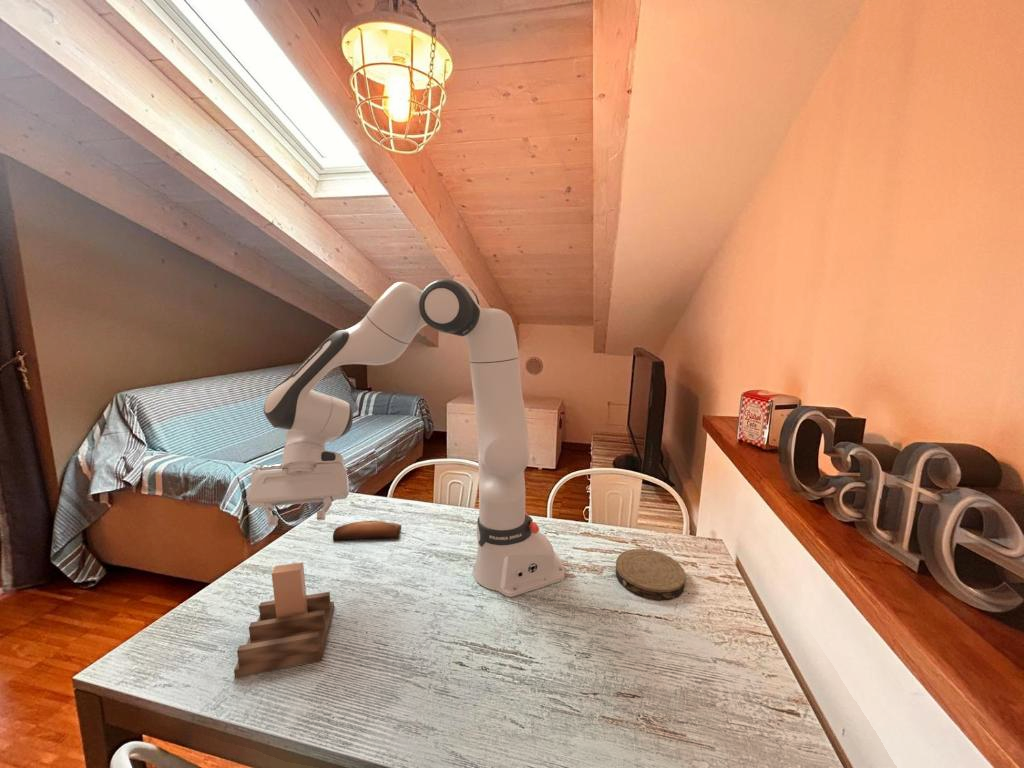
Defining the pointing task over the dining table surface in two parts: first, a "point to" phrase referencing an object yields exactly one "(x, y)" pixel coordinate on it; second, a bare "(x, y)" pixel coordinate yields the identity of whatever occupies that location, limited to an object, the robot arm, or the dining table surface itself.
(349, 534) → the sunglasses case
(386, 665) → the dining table surface
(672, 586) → the wood slice
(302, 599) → the clay slab
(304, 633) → the rack
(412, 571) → the dining table surface
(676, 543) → the dining table surface
